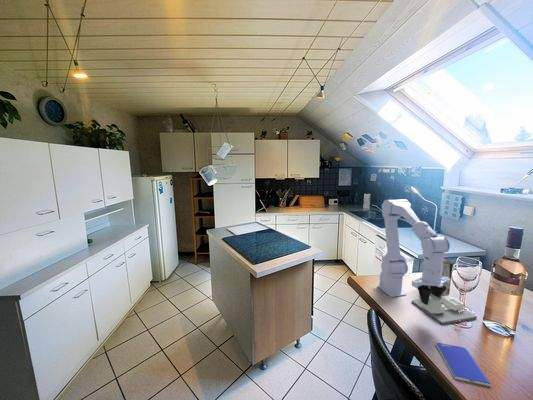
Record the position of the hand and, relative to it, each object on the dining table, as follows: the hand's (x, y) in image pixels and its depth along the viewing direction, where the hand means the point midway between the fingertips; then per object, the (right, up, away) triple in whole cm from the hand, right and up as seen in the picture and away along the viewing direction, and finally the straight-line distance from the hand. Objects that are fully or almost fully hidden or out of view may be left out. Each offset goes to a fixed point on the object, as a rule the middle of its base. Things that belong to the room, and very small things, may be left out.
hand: (428, 302), depth 84 cm
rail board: (+12, -7, +8) cm, 16 cm away
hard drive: (-2, -12, -16) cm, 20 cm away
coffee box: (+19, -5, +22) cm, 29 cm away
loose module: (0, -2, 0) cm, 2 cm away
